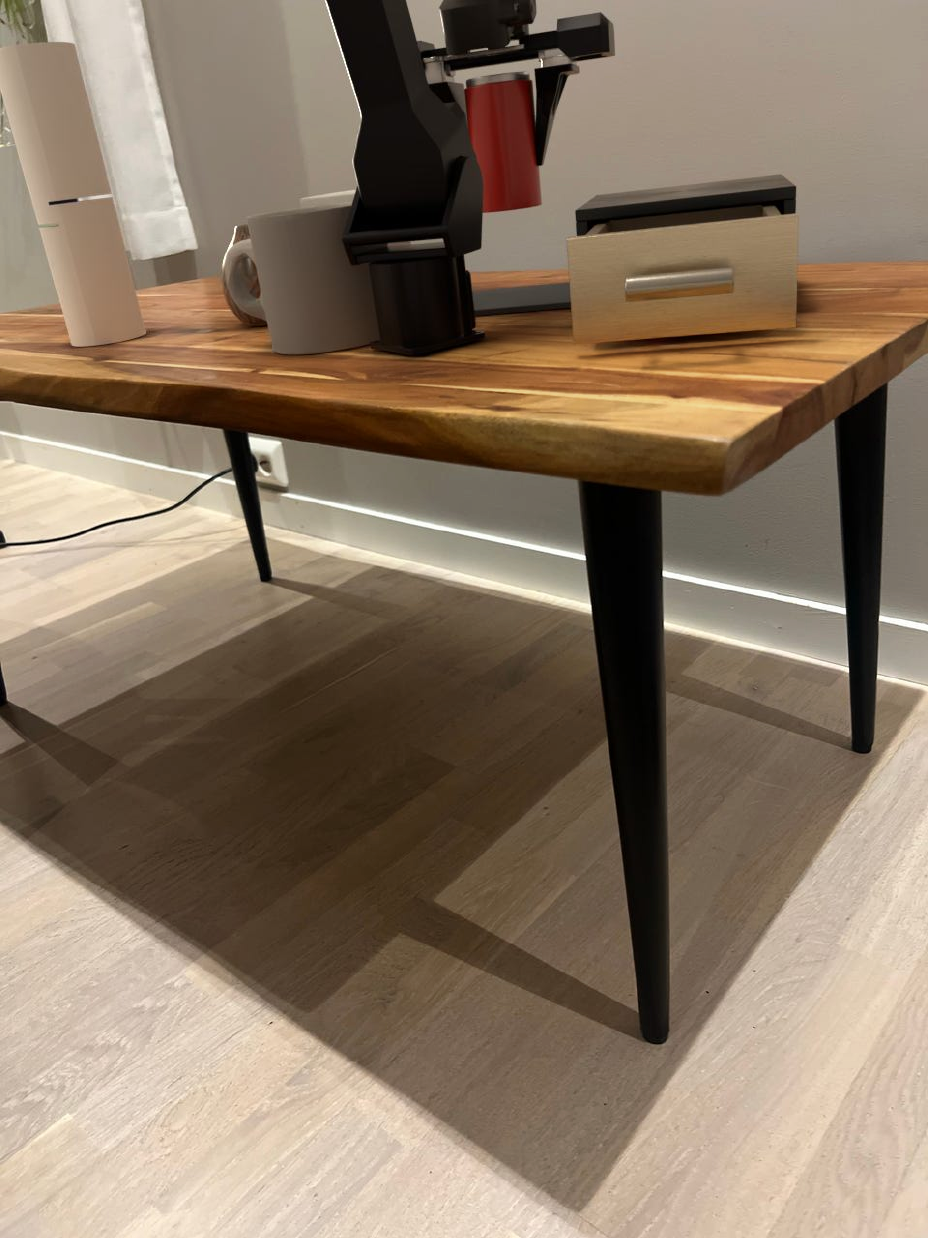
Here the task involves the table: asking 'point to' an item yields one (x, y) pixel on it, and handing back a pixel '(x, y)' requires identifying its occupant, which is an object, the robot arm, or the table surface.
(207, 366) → the table surface
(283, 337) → the coffee mug
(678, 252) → the drawer
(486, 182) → the can
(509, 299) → the mat
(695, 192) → the cabinet
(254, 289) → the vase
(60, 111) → the cylindrical container
